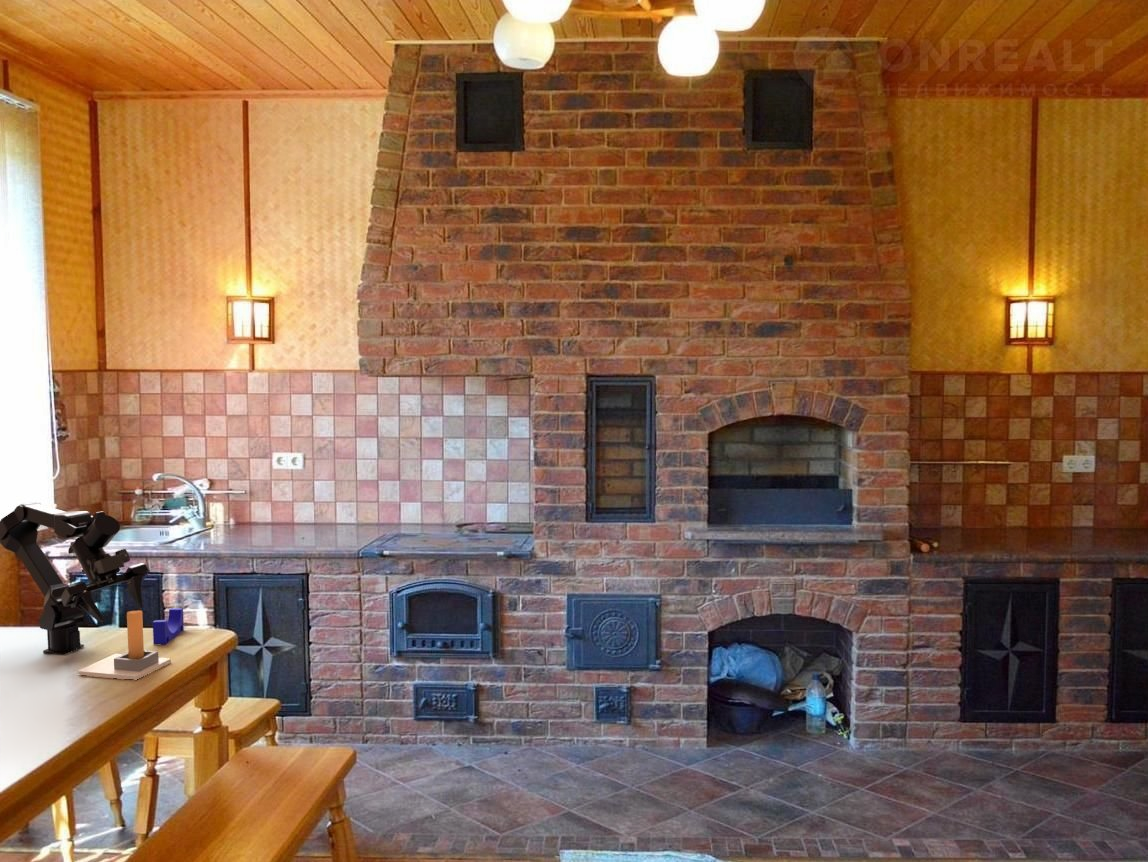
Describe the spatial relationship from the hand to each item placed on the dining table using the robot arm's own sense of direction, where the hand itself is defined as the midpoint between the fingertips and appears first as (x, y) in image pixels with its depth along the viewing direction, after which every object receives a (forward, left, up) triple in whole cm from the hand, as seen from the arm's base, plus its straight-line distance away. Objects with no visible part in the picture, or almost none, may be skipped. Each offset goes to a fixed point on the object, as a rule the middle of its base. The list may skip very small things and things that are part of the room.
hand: (122, 614), depth 214 cm
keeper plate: (+1, -1, -12) cm, 12 cm away
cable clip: (-4, +21, -13) cm, 25 cm away
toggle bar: (+4, -1, -11) cm, 12 cm away
